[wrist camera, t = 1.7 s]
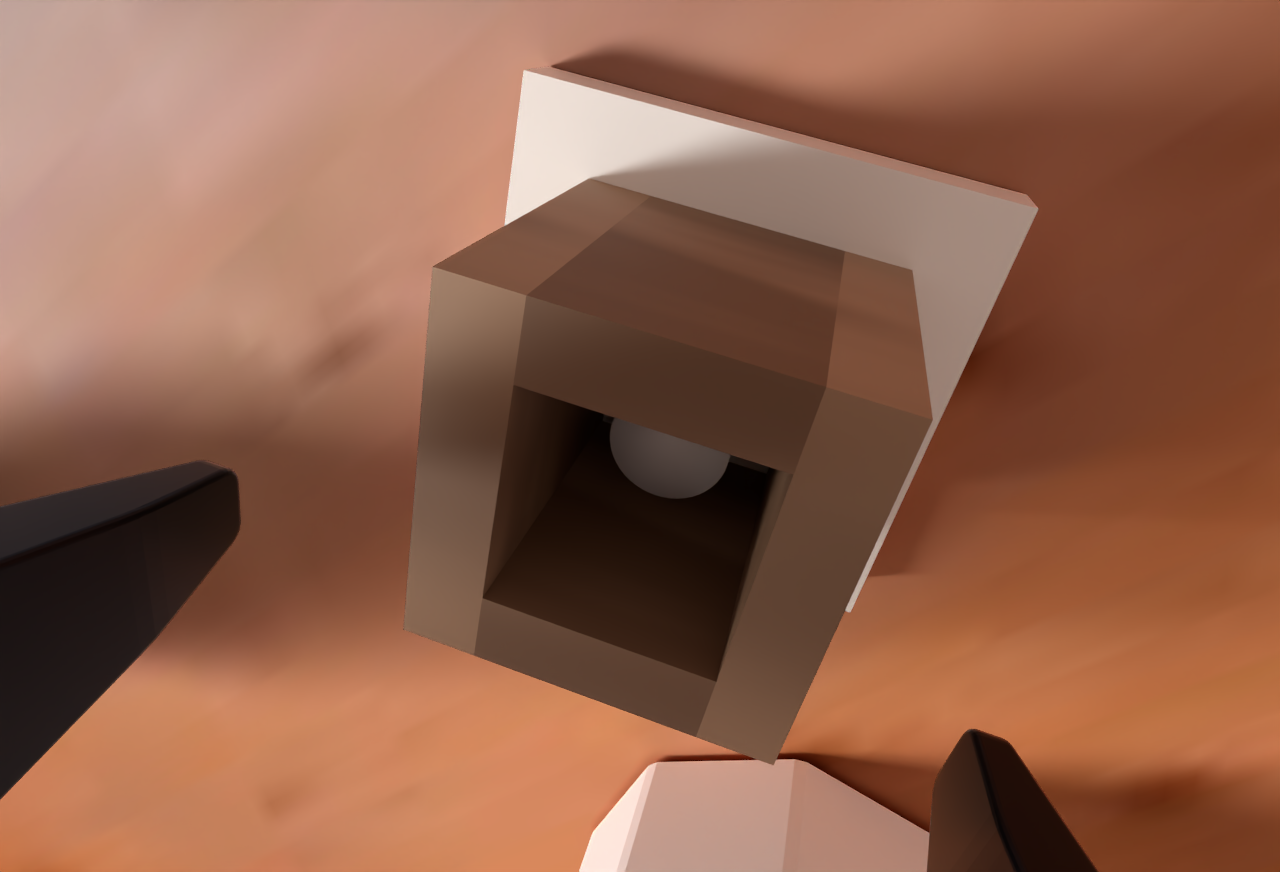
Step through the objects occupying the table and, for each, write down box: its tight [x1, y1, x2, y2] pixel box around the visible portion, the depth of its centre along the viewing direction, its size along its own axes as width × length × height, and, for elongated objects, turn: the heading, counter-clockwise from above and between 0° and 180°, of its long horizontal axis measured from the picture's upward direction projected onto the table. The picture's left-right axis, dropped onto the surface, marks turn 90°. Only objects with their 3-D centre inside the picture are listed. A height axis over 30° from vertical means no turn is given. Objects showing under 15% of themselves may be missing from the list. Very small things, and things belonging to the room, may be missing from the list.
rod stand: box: [504, 66, 1038, 612], centre depth 15 cm, size 9×9×4 cm
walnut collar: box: [403, 178, 933, 766], centre depth 13 cm, size 6×6×6 cm
